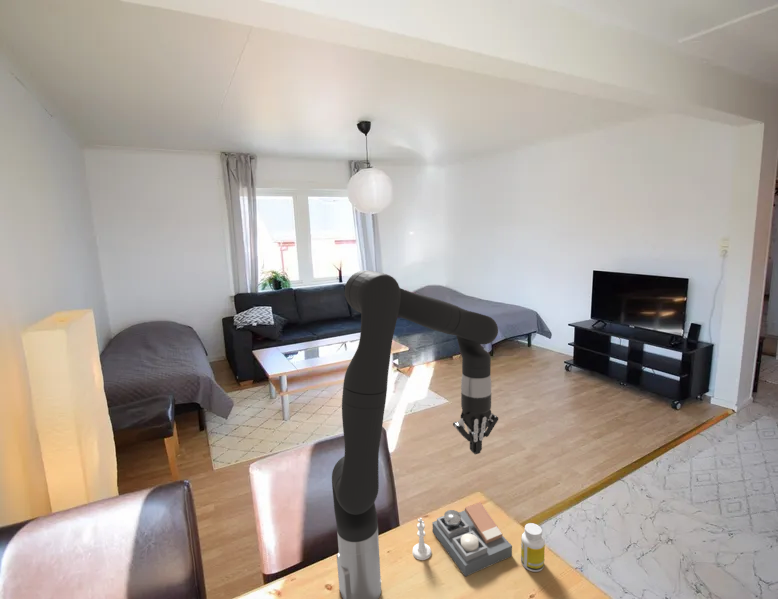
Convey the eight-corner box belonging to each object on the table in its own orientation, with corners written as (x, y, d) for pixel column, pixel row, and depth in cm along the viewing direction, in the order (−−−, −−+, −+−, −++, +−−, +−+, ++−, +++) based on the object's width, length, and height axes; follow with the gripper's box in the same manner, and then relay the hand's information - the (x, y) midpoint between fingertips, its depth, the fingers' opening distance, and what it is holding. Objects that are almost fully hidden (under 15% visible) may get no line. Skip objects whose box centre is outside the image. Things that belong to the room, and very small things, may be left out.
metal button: (449, 530, 106) (449, 523, 105) (441, 519, 110) (441, 513, 109) (464, 524, 107) (463, 518, 107) (455, 514, 111) (455, 508, 111)
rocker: (485, 543, 103) (486, 540, 102) (464, 510, 111) (465, 507, 110) (501, 537, 105) (502, 533, 104) (479, 504, 113) (480, 501, 112)
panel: (465, 576, 97) (465, 560, 96) (432, 531, 112) (432, 517, 111) (511, 556, 102) (512, 540, 102) (474, 515, 117) (474, 501, 116)
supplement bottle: (548, 566, 99) (550, 531, 97) (533, 576, 96) (534, 540, 94) (531, 551, 103) (532, 517, 102) (516, 560, 101) (516, 526, 99)
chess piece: (424, 563, 101) (423, 528, 100) (408, 554, 104) (407, 520, 102) (434, 550, 105) (434, 516, 103) (419, 542, 108) (417, 509, 106)
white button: (467, 556, 99) (467, 549, 98) (457, 544, 103) (457, 537, 102) (482, 550, 100) (482, 543, 100) (471, 538, 104) (471, 531, 104)
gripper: (461, 401, 97) (461, 466, 100) (506, 391, 102) (505, 453, 105) (446, 389, 104) (446, 451, 107) (488, 380, 109) (488, 440, 112)
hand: (475, 452), depth 106 cm, fingers closed
